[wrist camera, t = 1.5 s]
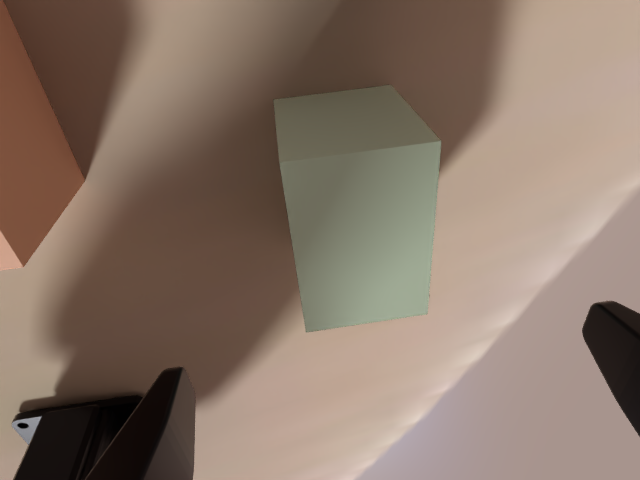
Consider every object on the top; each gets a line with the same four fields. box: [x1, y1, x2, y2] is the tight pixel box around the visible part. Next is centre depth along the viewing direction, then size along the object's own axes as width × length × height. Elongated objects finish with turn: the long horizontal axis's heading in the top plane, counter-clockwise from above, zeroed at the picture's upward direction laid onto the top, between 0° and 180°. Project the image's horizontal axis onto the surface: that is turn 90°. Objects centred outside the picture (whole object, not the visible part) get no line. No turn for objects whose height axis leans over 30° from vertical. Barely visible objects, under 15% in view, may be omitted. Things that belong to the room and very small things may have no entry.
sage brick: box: [273, 85, 441, 332], centre depth 14 cm, size 6×4×5 cm, turn 5°
